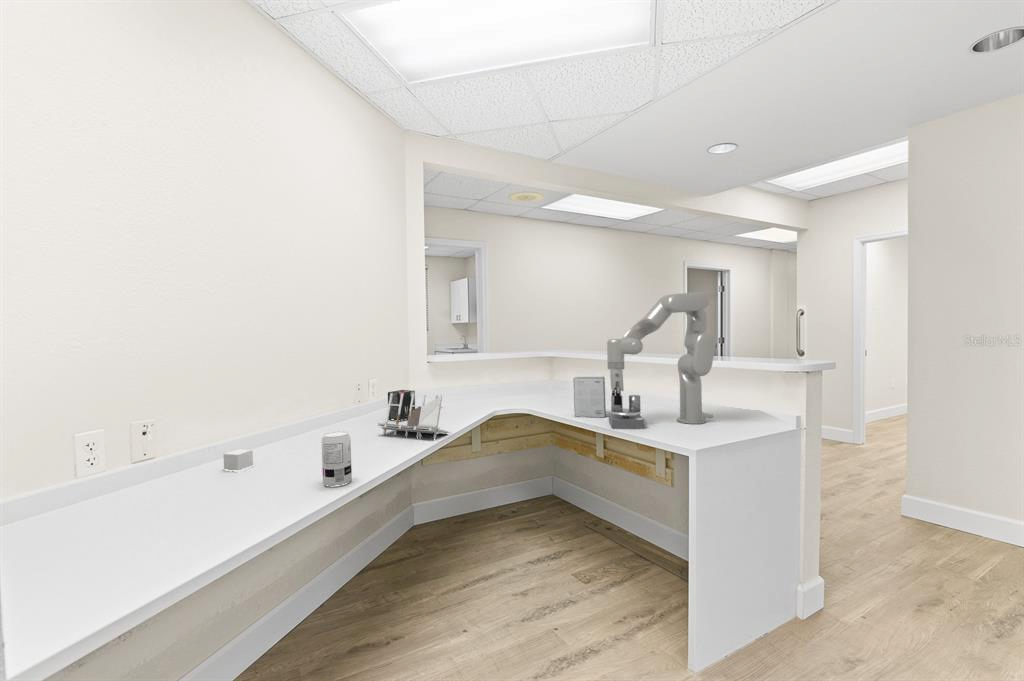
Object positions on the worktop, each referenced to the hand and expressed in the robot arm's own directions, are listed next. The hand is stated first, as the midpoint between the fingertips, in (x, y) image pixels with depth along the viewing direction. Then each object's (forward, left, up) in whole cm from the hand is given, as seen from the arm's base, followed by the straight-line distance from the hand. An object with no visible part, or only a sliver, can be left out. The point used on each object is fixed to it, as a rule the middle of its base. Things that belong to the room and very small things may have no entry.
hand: (616, 403), depth 207 cm
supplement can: (+92, +82, -10) cm, 124 cm away
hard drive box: (+11, -23, -11) cm, 28 cm away
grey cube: (+134, +70, -11) cm, 152 cm away
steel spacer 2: (-8, 0, -4) cm, 9 cm away
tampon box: (+108, -15, -11) cm, 110 cm away
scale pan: (-4, 0, -6) cm, 7 cm away
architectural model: (+90, +21, -11) cm, 92 cm away
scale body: (-4, 0, -10) cm, 11 cm away
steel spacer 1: (0, 0, -4) cm, 4 cm away
